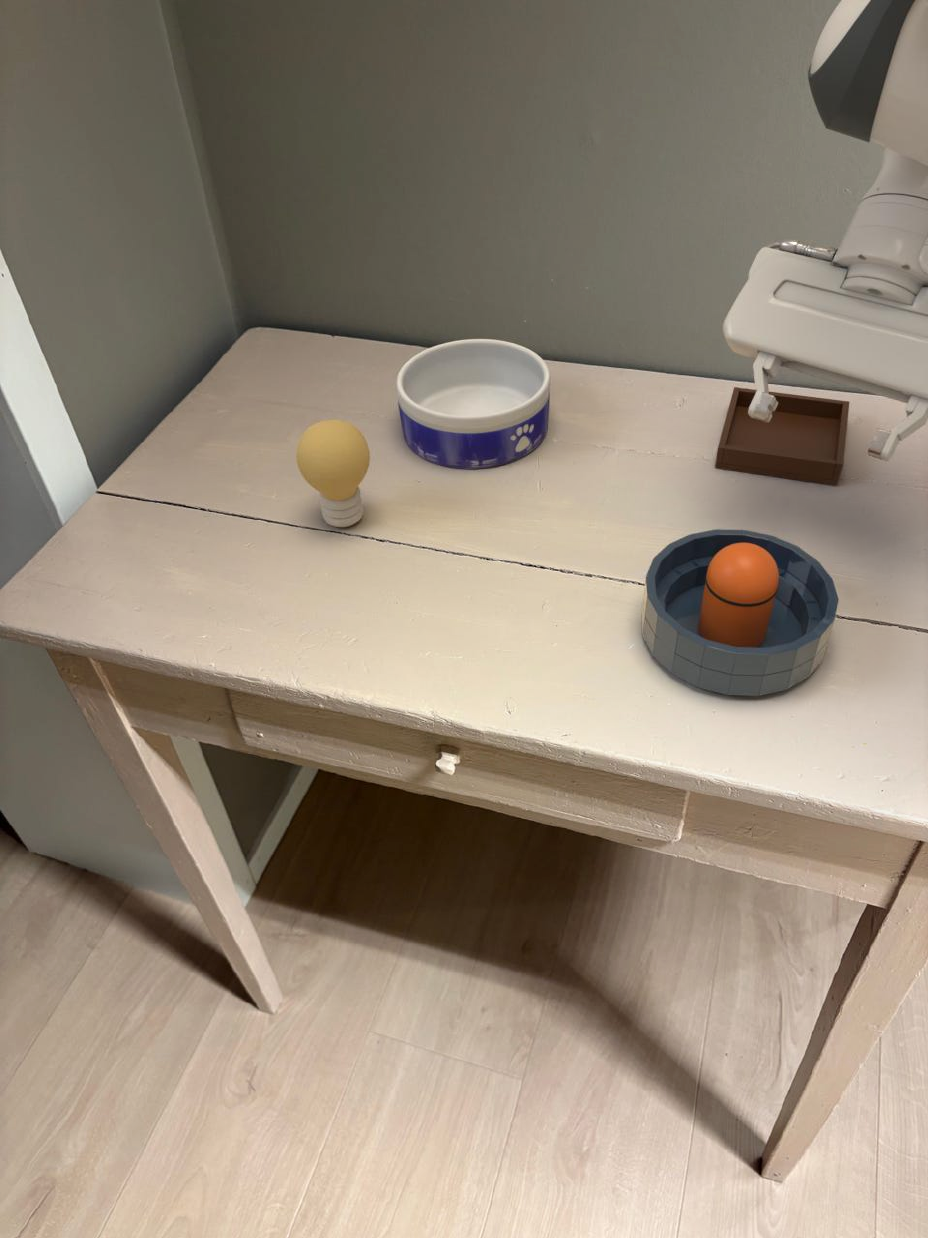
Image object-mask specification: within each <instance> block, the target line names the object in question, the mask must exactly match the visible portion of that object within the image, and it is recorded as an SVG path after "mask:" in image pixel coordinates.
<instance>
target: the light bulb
mask: <svg viewBox="0 0 928 1238" xmlns="http://www.w3.org/2000/svg"><path fill="white" fill-rule="evenodd" d="M369 448H370V447H369V445H368V442H367V439H366V438H365V436H364V434H363V433H362V432H361V430H360V429H359V428H358V427H357V426H355V425H354V424H353V423H351V422H349V421H345V420H341V419H328V420H327V419H325V420H322V421H318V422H316V423H313V424H312V425H310V426H309V427H307V428H306V429H305V431H304V432H303V433H302V435H301V436H300V439H299V441H298V443H297V448H296V464H297V468H298V471H299V472H300V475H301V476H302V477H303V479H304V481H305V482H306V483H307V484H309V485H310V486H311V487H312V488H313V489H315V490H316V491H317V492H318V498H319V502H320V509H321V514H322V515H321V516H322V518H323V520H324V522H325V523H326V524H327V525H330V526H332V527H335V528H347V527H351V526H353V525H355V524H356V523H358V522H359V521H360V520H361V519H362V517H363V515H364V507H363V501H362V496H361V493H362V492H361V489H360V487H359V486H360V484H361V483H362V482H363V480H364V478H365V477H366V476H367V475H366V474H367V473H368V470H369V468H370V461H371V454H370V449H369Z"/></svg>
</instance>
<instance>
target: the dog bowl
mask: <svg viewBox="0 0 928 1238" xmlns="http://www.w3.org/2000/svg"><path fill="white" fill-rule="evenodd" d="M395 381H396V383H395V384H396V395H397V405H398V412H399V418H400V425H401V429H402V435H403V439H404V441H405V443H406V444H407V446H408V447H409V448H410V449H411V451H412V452H413V453H414V454H416V455H417V456H419V457H420V458H422V459H424V460H425V461H428V462H431V463H433V464H436V465H439V466H443V467H447V468H454V469H465V470H477V469H487V468H494V467H498V466H503V465H506V464H509V463H512V462H516V461H517V460H520V459H521V458H523V457H525V456H527V455H528V454H530V453H532V452H533V451H534V450H536V449H537V448H538V447H539V446H540V444H541V443H542V442H543V441H544V439H545V438H546V435H547V433H548V428H549V418H550V417H549V416H550V403H551V402H550V400H551V372H550V369H549V366H548V364H547V362H545V360H544V359H543V358H542V357H541V356H540V355H538V354H537V353H536V352H534V351H533V350H531V349H529V348H527V347H525V346H523V345H520V344H517V343H515V342H514V343H513V342H509V341H505V340H501V339H500V340H499V339H493V338H492V339H491V338H469V339H460V340H459V339H458V340H453V341H449V342H444V343H442V344H441V343H440V344H437V345H434V346H431V347H429V348H427V349H425V350H422V351H420V352H419V353H417V354H416V355H414V356H413V357H411V358H410V359H408V360H407V361H406V363H404V364H403V366H402V367H401V369H400V370H399V371H398V374H397V377H396V380H395Z"/></svg>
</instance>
